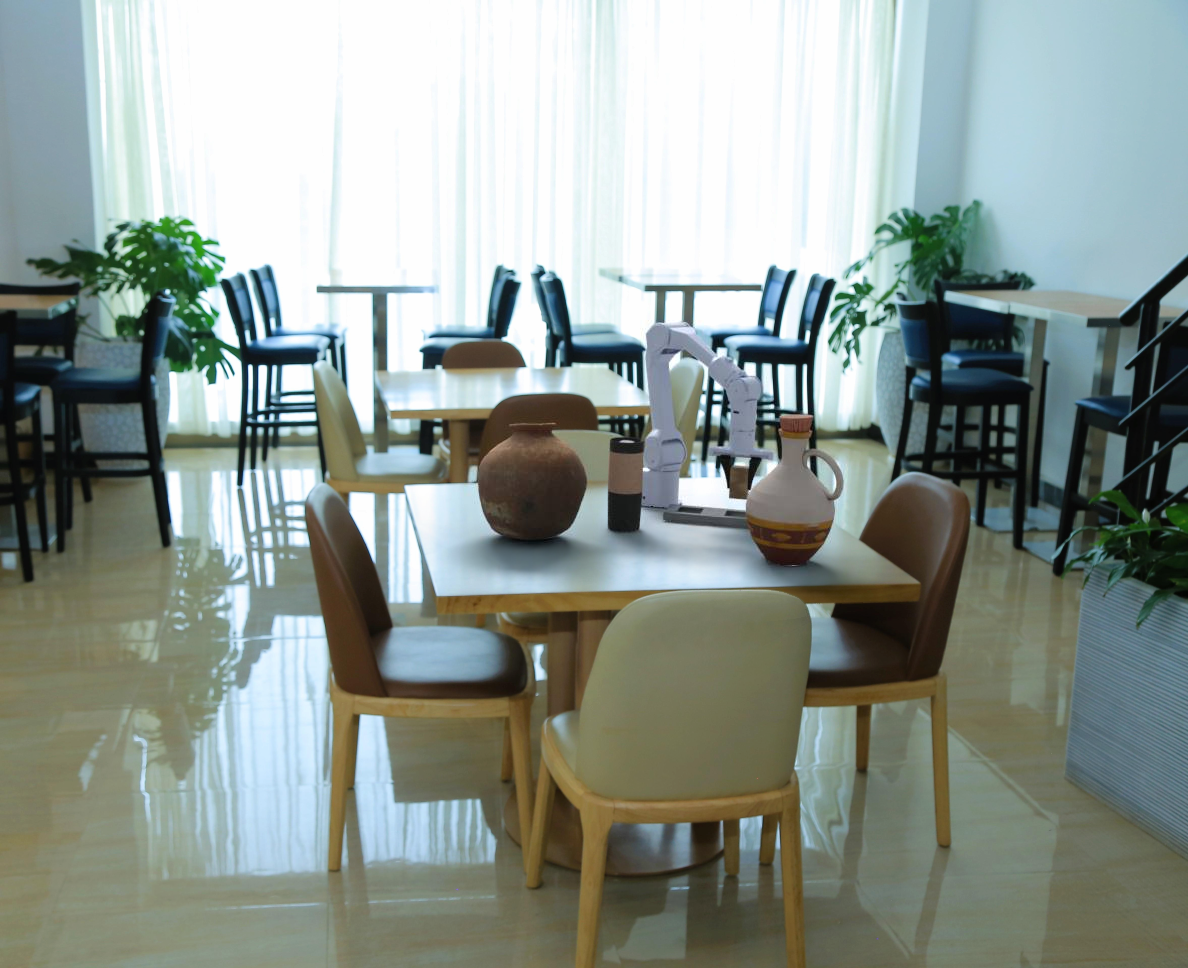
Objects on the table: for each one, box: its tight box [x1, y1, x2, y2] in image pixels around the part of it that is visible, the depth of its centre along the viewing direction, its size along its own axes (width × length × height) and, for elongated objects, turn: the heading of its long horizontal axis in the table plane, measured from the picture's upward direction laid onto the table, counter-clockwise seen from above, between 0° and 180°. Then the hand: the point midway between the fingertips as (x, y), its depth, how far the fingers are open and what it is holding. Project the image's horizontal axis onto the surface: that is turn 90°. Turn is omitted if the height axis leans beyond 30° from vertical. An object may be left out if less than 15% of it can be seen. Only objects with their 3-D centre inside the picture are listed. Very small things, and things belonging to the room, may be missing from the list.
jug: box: [745, 414, 845, 566], centre depth 238 cm, size 20×18×30 cm
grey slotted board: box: [662, 504, 749, 529], centre depth 274 cm, size 22×9×2 cm, turn 76°
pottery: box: [477, 422, 588, 541], centre depth 251 cm, size 23×23×25 cm
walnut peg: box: [728, 464, 750, 501], centre depth 271 cm, size 4×4×7 cm
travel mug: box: [607, 436, 645, 533], centre depth 262 cm, size 8×8×20 cm
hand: (739, 488), depth 271 cm, fingers closed on walnut peg, 4 cm apart
